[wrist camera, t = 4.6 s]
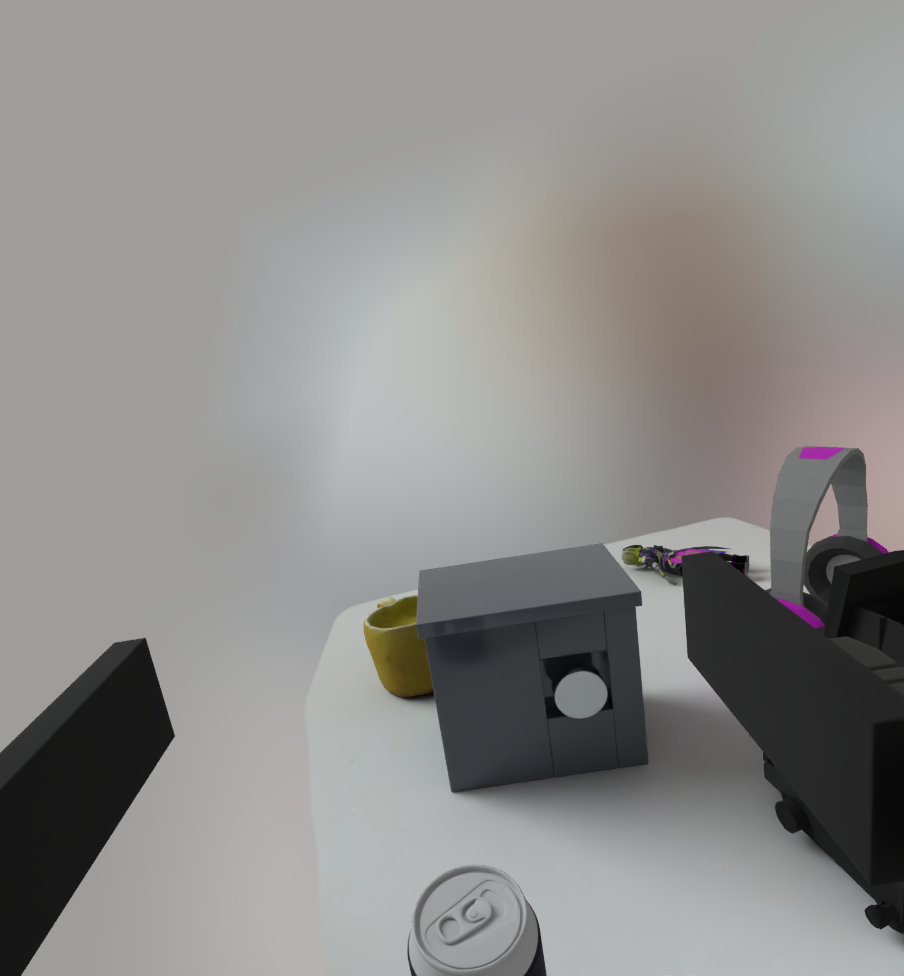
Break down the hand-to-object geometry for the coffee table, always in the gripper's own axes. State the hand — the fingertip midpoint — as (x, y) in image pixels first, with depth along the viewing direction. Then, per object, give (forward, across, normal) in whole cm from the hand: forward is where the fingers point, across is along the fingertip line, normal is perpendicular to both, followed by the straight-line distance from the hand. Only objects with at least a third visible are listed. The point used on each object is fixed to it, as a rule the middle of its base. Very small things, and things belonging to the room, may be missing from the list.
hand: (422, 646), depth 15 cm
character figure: (+63, +30, -28) cm, 75 cm away
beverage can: (+7, -1, -28) cm, 29 cm away
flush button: (+28, +8, -22) cm, 36 cm away
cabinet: (+33, +5, -28) cm, 44 cm away
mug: (+48, -6, -28) cm, 56 cm away
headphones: (+42, +36, -28) cm, 62 cm away
